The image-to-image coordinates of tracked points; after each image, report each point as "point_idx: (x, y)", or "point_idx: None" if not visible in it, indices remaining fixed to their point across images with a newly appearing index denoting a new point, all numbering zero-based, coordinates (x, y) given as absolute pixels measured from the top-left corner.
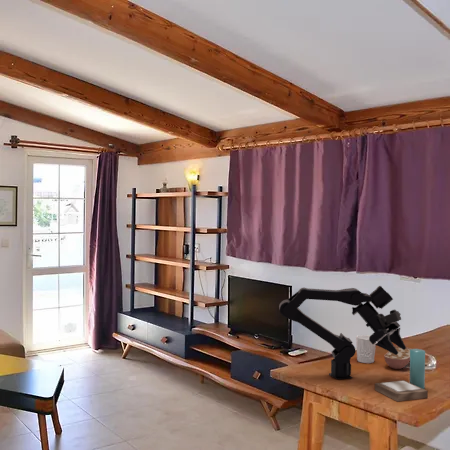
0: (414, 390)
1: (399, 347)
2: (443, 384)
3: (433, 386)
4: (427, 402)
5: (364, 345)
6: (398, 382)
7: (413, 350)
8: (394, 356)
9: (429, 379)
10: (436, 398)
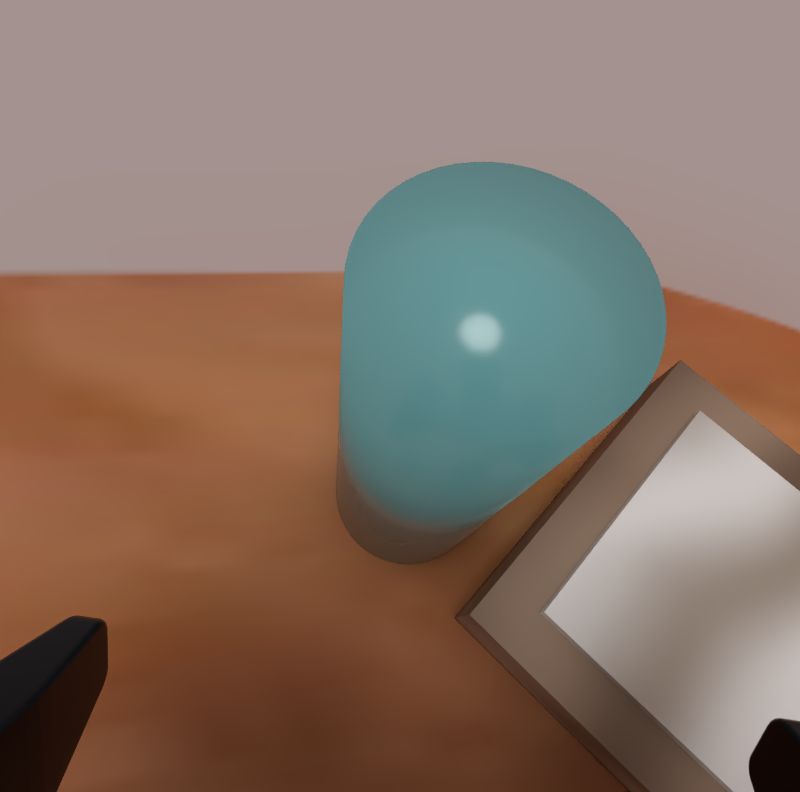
0: (756, 464)
1: None
2: (188, 286)
3: (294, 359)
4: (754, 380)
5: None
6: (644, 653)
7: (559, 367)
8: None
9: (55, 403)
10: None
